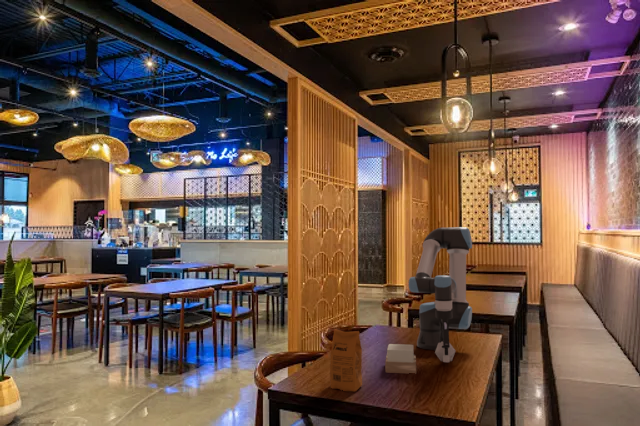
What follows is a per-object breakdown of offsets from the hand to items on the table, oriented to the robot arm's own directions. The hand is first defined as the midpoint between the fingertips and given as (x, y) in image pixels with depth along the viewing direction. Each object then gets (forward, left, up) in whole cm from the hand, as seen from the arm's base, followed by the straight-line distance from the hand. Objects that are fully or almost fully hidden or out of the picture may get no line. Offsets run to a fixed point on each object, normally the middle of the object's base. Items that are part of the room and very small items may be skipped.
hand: (445, 358), depth 204 cm
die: (0, 0, -1) cm, 1 cm away
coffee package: (+38, -41, -3) cm, 56 cm away
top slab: (+11, -20, +2) cm, 23 cm away
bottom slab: (+10, -20, -3) cm, 23 cm away
